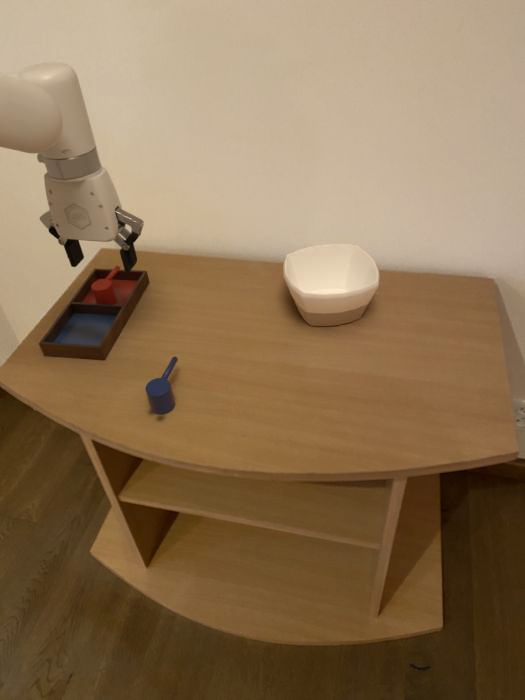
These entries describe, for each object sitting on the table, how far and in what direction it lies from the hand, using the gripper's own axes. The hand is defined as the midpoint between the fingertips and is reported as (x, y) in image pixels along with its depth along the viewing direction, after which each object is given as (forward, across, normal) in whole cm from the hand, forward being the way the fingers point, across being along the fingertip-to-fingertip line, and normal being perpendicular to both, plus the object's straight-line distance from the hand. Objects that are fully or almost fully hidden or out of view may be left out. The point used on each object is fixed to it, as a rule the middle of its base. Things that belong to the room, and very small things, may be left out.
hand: (104, 264), depth 84 cm
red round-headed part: (+17, -10, +14) cm, 24 cm away
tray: (+18, -10, +8) cm, 22 cm away
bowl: (+18, +35, +18) cm, 43 cm away
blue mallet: (+18, +12, -10) cm, 24 cm away
